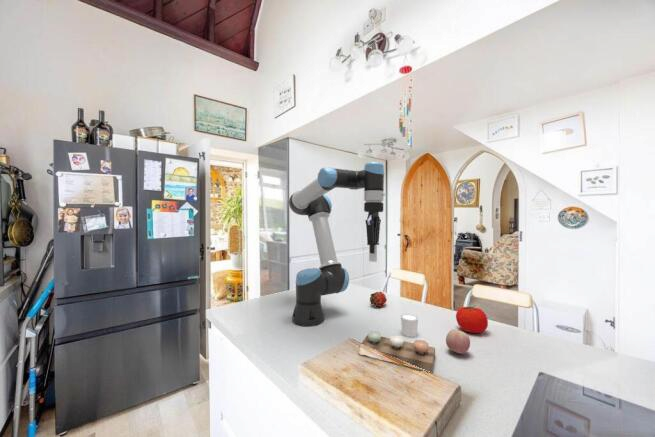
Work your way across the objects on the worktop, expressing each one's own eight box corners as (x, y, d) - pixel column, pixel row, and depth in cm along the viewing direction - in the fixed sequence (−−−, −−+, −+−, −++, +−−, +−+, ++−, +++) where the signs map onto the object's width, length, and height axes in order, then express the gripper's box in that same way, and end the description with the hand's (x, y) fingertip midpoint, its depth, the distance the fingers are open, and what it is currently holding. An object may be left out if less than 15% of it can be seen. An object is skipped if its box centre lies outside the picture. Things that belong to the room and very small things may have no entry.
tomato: (485, 328, 114) (486, 304, 114) (489, 339, 103) (489, 313, 103) (455, 323, 119) (455, 300, 119) (456, 333, 108) (456, 309, 108)
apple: (469, 361, 87) (469, 337, 87) (444, 355, 92) (444, 332, 92) (470, 351, 94) (470, 329, 94) (447, 345, 98) (447, 324, 98)
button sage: (366, 350, 94) (366, 335, 94) (370, 344, 98) (370, 330, 98) (379, 353, 92) (379, 337, 92) (382, 347, 96) (382, 332, 96)
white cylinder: (418, 331, 110) (418, 315, 110) (418, 338, 104) (418, 321, 104) (401, 329, 113) (401, 313, 112) (400, 336, 106) (400, 319, 106)
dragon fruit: (371, 312, 138) (381, 309, 147) (384, 305, 134) (393, 302, 143) (363, 297, 141) (374, 295, 151) (376, 289, 138) (385, 288, 147)
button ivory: (388, 355, 90) (388, 339, 90) (391, 349, 94) (391, 334, 94) (402, 358, 88) (402, 342, 88) (404, 352, 92) (404, 337, 92)
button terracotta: (412, 361, 87) (412, 344, 87) (414, 354, 91) (414, 339, 91) (427, 364, 84) (427, 347, 84) (429, 358, 89) (429, 341, 89)
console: (358, 354, 92) (358, 346, 92) (368, 341, 102) (368, 333, 102) (432, 373, 81) (432, 363, 81) (435, 356, 91) (435, 347, 91)
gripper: (378, 201, 96) (377, 265, 97) (387, 202, 108) (386, 259, 108) (359, 201, 100) (358, 263, 100) (369, 202, 111) (369, 258, 112)
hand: (372, 261), depth 104 cm, fingers closed
